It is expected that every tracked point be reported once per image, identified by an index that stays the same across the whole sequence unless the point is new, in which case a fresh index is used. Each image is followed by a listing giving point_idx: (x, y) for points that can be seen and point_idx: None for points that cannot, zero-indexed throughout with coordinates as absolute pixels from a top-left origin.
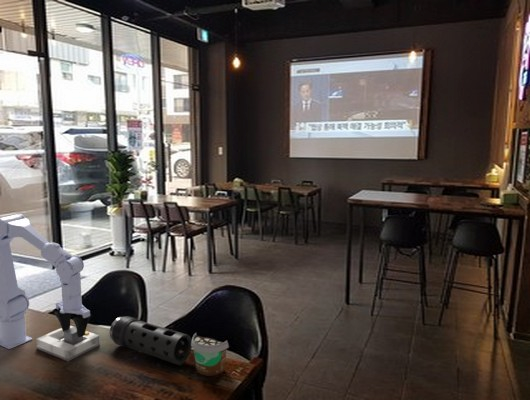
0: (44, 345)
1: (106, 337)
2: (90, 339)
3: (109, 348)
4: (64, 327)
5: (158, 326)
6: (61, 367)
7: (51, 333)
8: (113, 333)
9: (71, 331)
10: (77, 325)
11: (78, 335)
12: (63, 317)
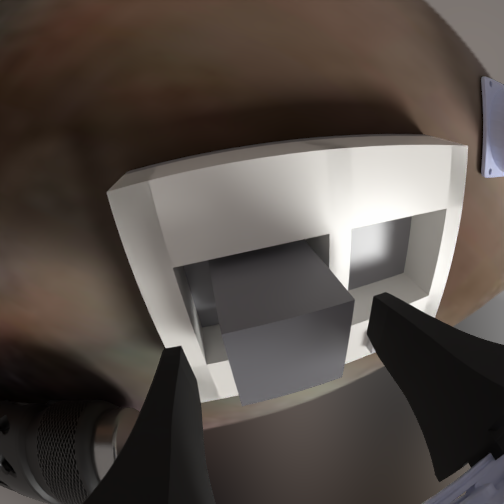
0: (394, 140)
1: None
2: None
3: (127, 369)
4: (393, 324)
5: (1, 485)
6: (87, 112)
7: (448, 234)
8: (68, 446)
9: (283, 347)
10: (124, 468)
11: (165, 359)
12: (455, 394)
